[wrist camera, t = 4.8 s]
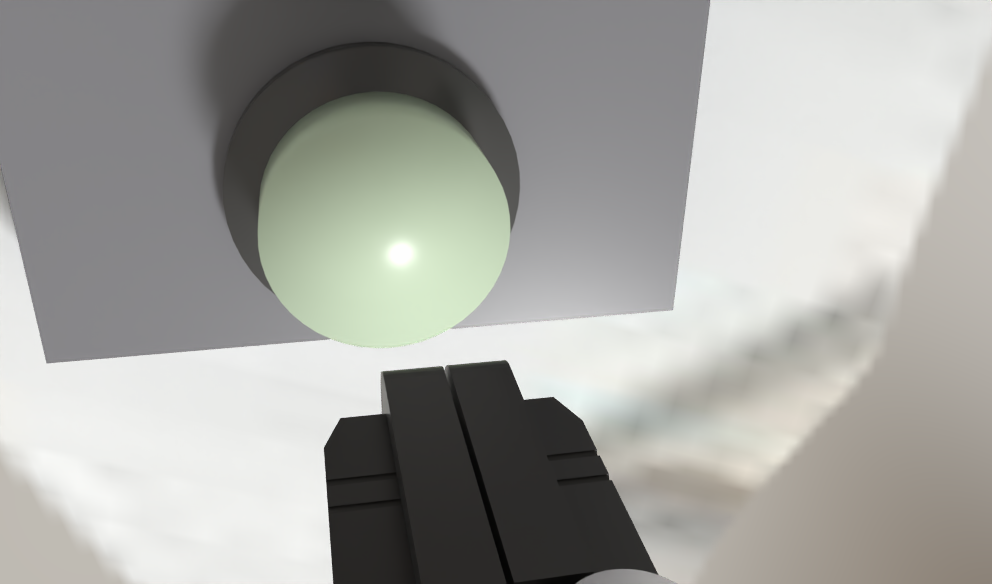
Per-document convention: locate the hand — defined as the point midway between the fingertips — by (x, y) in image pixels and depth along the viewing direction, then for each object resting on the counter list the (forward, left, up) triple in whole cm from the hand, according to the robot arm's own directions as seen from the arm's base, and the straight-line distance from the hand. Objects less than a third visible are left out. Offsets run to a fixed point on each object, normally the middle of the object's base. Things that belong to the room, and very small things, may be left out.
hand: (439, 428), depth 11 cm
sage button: (0, 0, -8) cm, 8 cm away
